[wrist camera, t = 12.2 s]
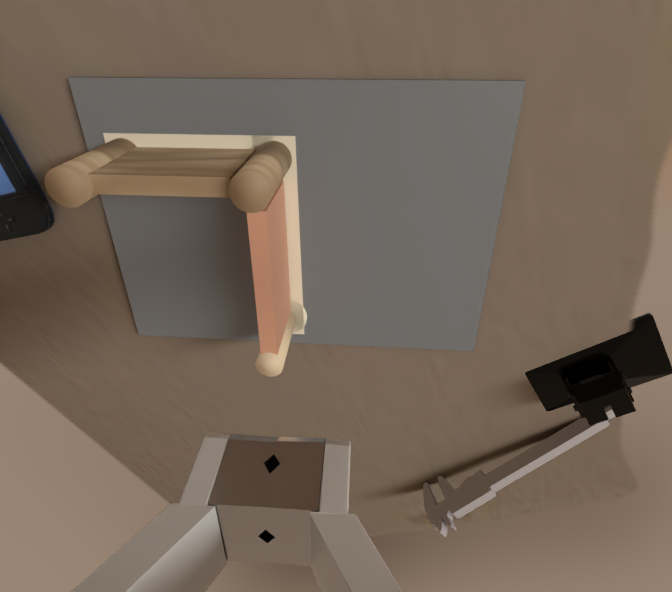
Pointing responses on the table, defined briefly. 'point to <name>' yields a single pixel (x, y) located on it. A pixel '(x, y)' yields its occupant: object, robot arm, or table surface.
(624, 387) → the black angular piece
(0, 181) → the handheld game console
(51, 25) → the table surface
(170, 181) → the fixed fence
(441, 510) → the caliper
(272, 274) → the fence panel
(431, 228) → the board
